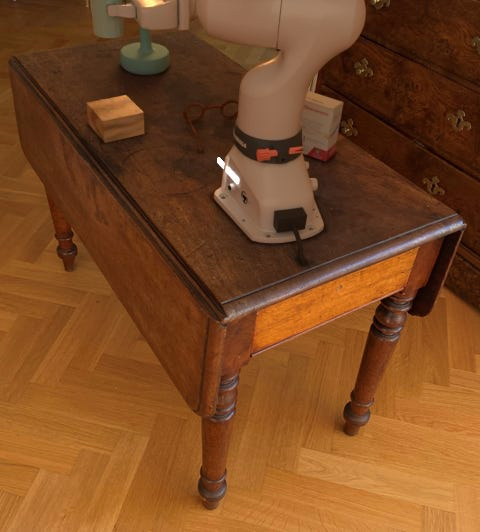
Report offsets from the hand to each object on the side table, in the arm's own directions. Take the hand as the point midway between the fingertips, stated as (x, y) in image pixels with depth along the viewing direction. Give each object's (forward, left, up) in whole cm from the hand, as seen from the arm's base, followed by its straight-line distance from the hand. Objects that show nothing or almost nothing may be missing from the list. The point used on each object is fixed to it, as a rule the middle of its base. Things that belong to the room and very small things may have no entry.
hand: (102, 3), depth 112 cm
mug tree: (+31, -14, -26) cm, 43 cm away
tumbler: (0, -1, -5) cm, 6 cm away
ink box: (-18, -39, -26) cm, 50 cm away
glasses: (-7, -22, -26) cm, 35 cm away
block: (0, -1, -26) cm, 26 cm away
